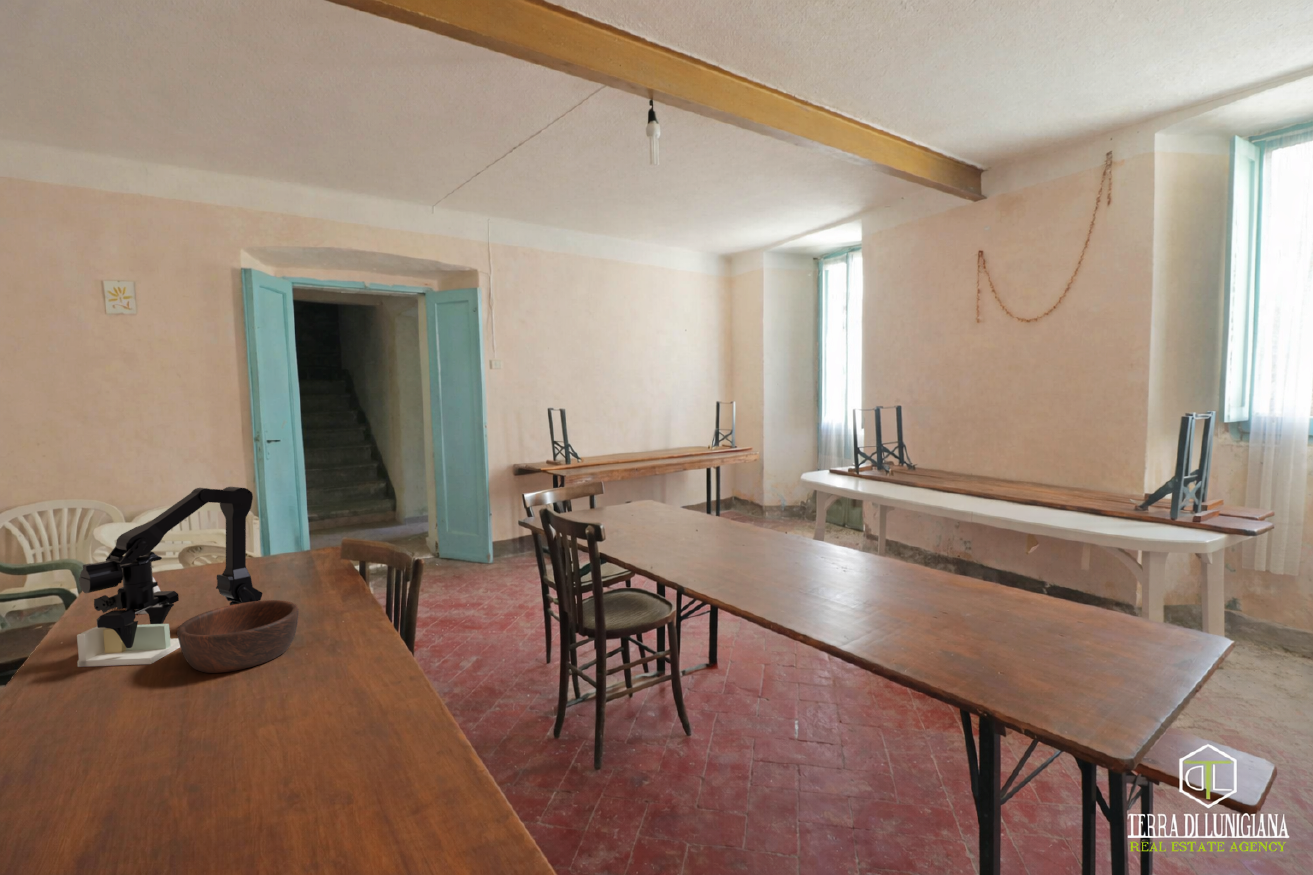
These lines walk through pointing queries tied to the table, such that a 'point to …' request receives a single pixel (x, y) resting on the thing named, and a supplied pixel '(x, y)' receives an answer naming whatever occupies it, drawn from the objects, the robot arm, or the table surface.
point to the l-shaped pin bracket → (95, 655)
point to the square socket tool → (139, 638)
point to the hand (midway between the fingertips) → (142, 640)
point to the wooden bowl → (238, 635)
